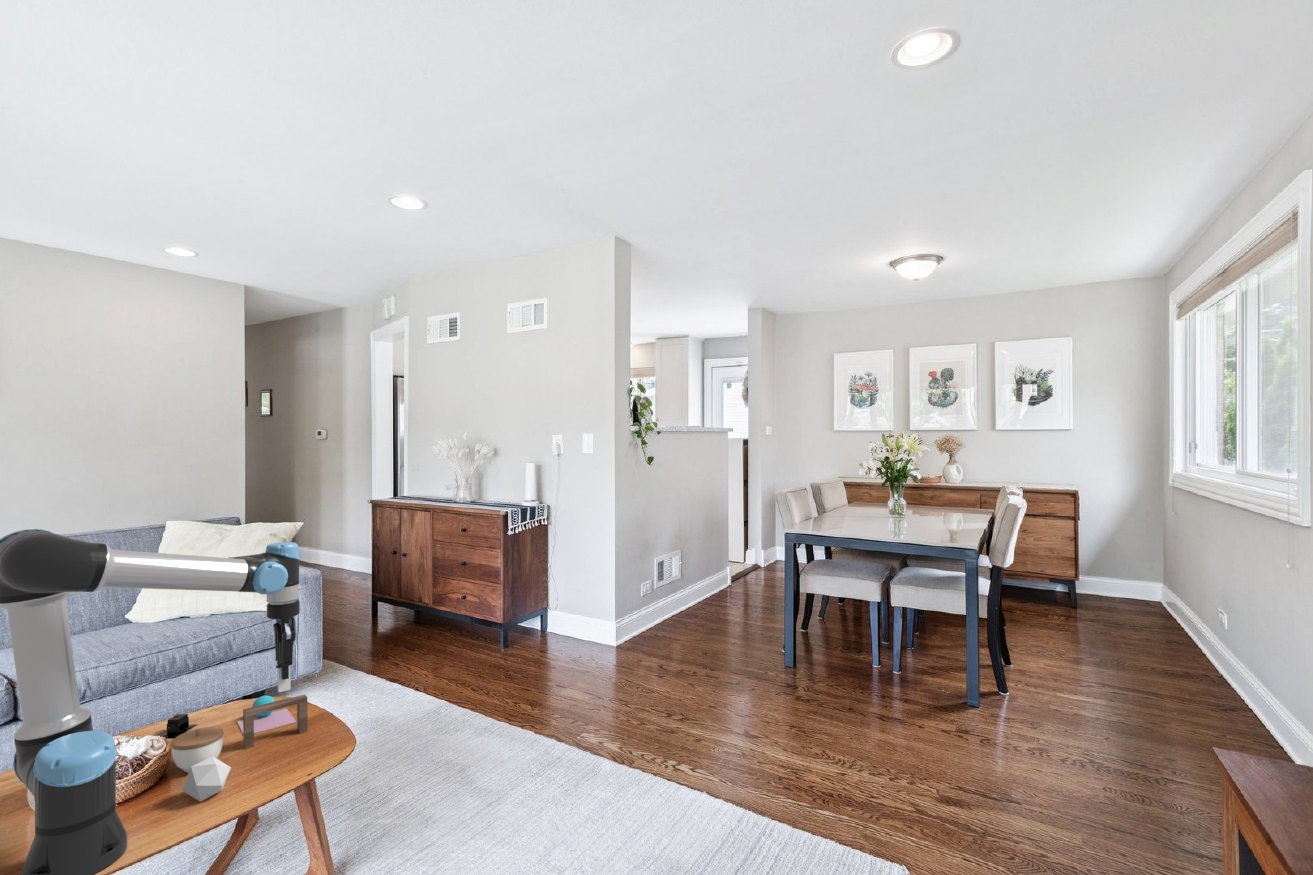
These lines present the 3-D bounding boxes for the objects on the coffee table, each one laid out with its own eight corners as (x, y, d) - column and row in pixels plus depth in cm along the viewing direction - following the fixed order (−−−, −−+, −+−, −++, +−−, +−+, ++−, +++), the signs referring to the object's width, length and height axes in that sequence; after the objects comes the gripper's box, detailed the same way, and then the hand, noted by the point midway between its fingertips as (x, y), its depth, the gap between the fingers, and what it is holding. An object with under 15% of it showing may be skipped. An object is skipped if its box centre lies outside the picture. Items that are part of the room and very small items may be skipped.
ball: (250, 719, 189) (256, 720, 185) (248, 699, 190) (253, 699, 186) (273, 712, 193) (279, 713, 189) (271, 692, 194) (276, 692, 190)
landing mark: (244, 736, 176) (244, 735, 176) (236, 721, 186) (236, 720, 186) (296, 722, 185) (296, 721, 185) (286, 708, 195) (286, 708, 195)
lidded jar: (172, 782, 152) (172, 743, 153) (170, 765, 161) (170, 728, 161) (225, 767, 159) (225, 730, 159) (221, 751, 168) (221, 716, 168)
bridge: (307, 731, 179) (307, 697, 179) (245, 748, 169) (244, 712, 169) (305, 727, 181) (304, 694, 181) (243, 744, 171) (243, 709, 171)
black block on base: (181, 723, 187) (181, 707, 187) (207, 723, 187) (207, 706, 187) (146, 744, 173) (146, 727, 173) (175, 744, 174) (175, 726, 174)
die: (230, 799, 146) (241, 754, 151) (193, 796, 139) (206, 749, 145) (207, 806, 148) (218, 761, 154) (169, 804, 142) (182, 757, 147)
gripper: (305, 602, 165) (305, 693, 164) (293, 594, 174) (294, 679, 174) (271, 608, 160) (272, 701, 159) (262, 599, 169) (263, 687, 169)
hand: (284, 690), depth 167 cm, fingers closed
